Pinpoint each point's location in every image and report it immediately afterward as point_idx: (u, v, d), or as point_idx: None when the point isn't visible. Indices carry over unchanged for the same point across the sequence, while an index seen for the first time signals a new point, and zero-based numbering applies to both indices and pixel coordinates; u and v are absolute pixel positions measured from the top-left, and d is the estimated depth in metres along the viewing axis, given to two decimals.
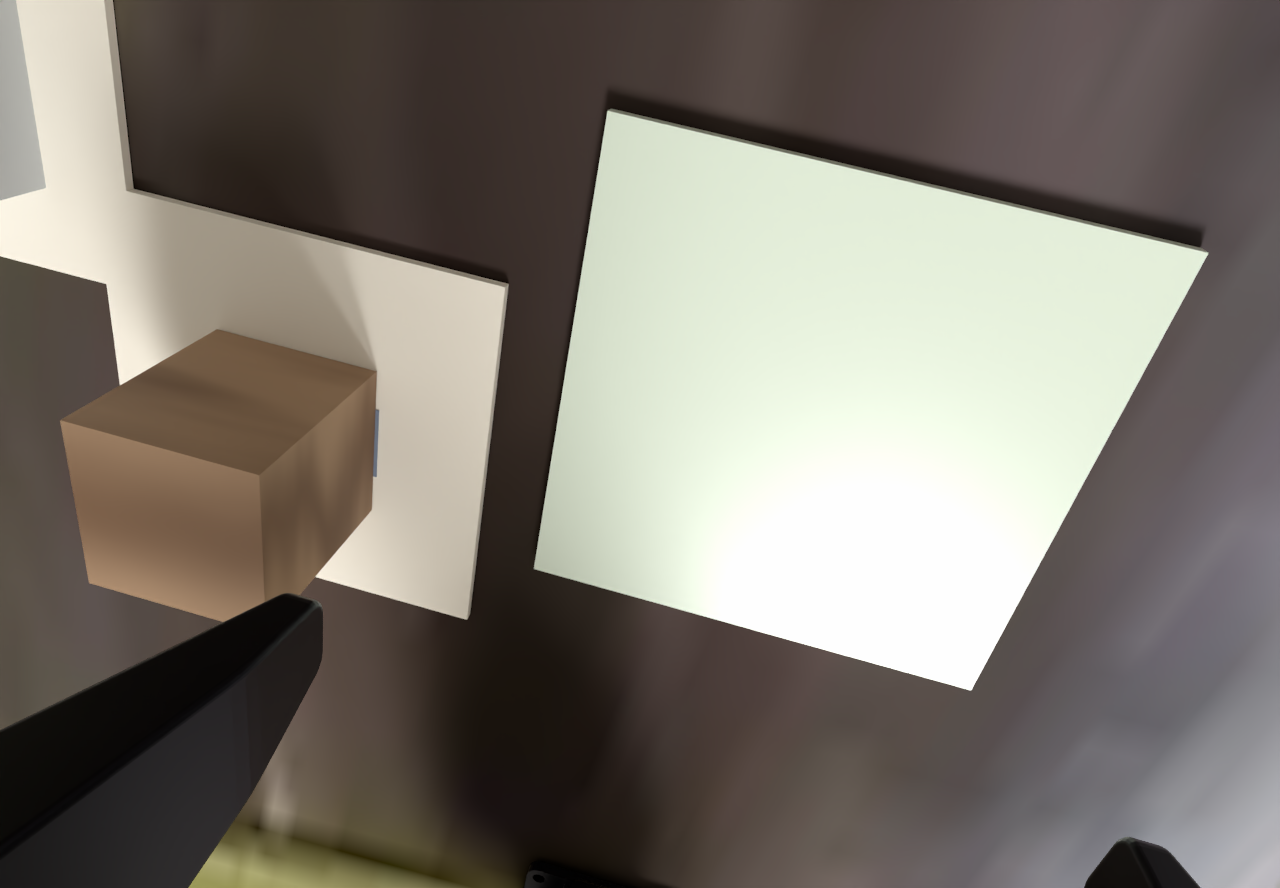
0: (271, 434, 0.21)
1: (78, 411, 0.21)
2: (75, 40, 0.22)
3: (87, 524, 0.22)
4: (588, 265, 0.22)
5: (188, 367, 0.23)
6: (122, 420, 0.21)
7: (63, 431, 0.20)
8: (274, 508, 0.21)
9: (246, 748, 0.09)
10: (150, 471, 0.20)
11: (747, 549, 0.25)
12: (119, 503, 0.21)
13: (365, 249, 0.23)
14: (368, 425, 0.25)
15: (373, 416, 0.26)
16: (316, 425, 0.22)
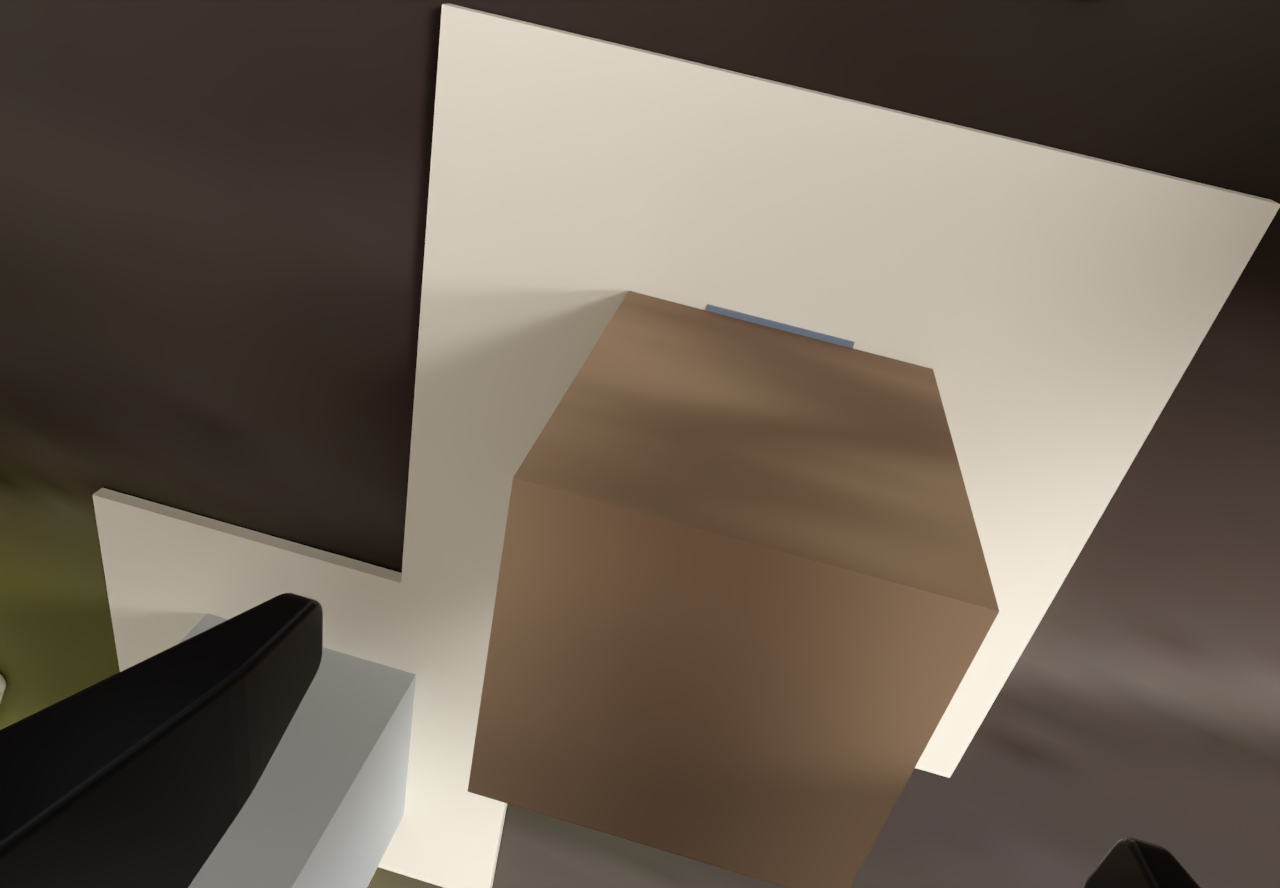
0: None
1: None
2: (239, 570, 0.19)
3: (692, 845, 0.11)
4: None
5: None
6: None
7: (491, 796, 0.11)
8: (651, 482, 0.09)
9: (246, 748, 0.09)
10: (546, 688, 0.10)
11: None
12: (633, 773, 0.10)
13: None
14: (722, 324, 0.13)
15: (715, 315, 0.14)
16: (578, 376, 0.11)
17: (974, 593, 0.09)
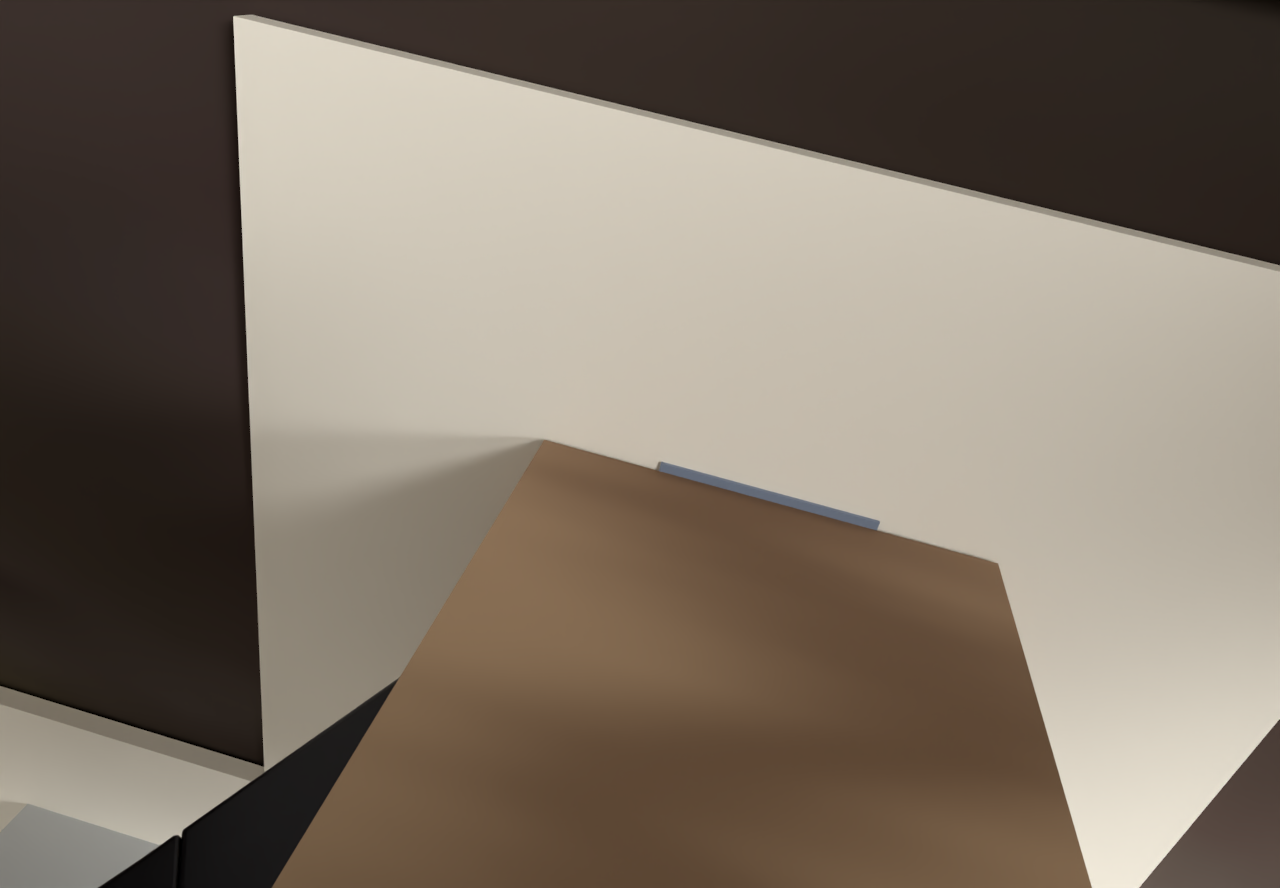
0: None
1: None
2: (59, 758, 0.14)
3: None
4: None
5: None
6: None
7: None
8: None
9: None
10: None
11: None
12: None
13: None
14: (680, 499, 0.09)
15: (671, 480, 0.09)
16: (418, 655, 0.06)
17: None
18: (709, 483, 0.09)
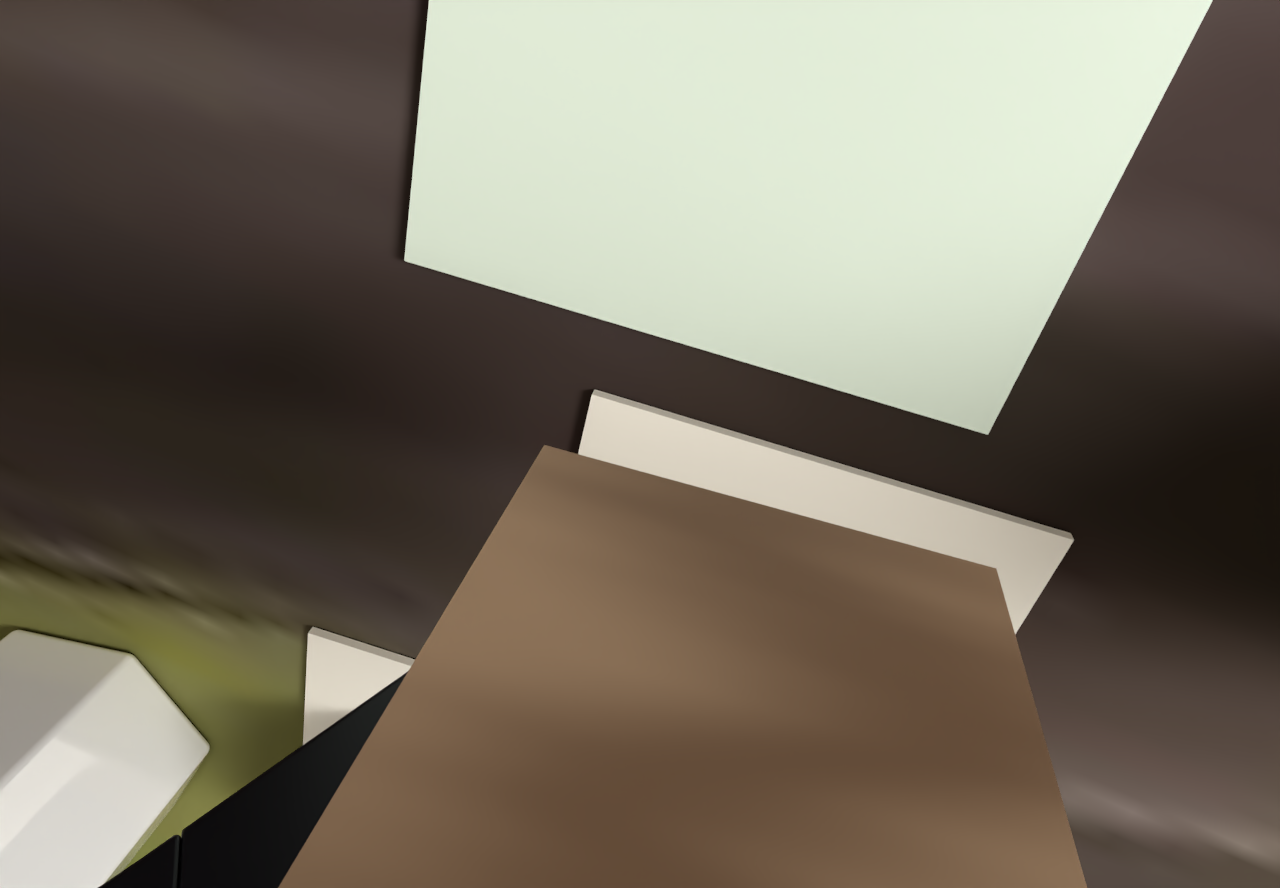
0: None
1: None
2: None
3: None
4: (559, 300, 0.20)
5: None
6: None
7: None
8: None
9: None
10: None
11: (981, 116, 0.16)
12: None
13: None
14: (680, 505, 0.09)
15: (671, 485, 0.09)
16: (419, 660, 0.06)
17: None
18: None
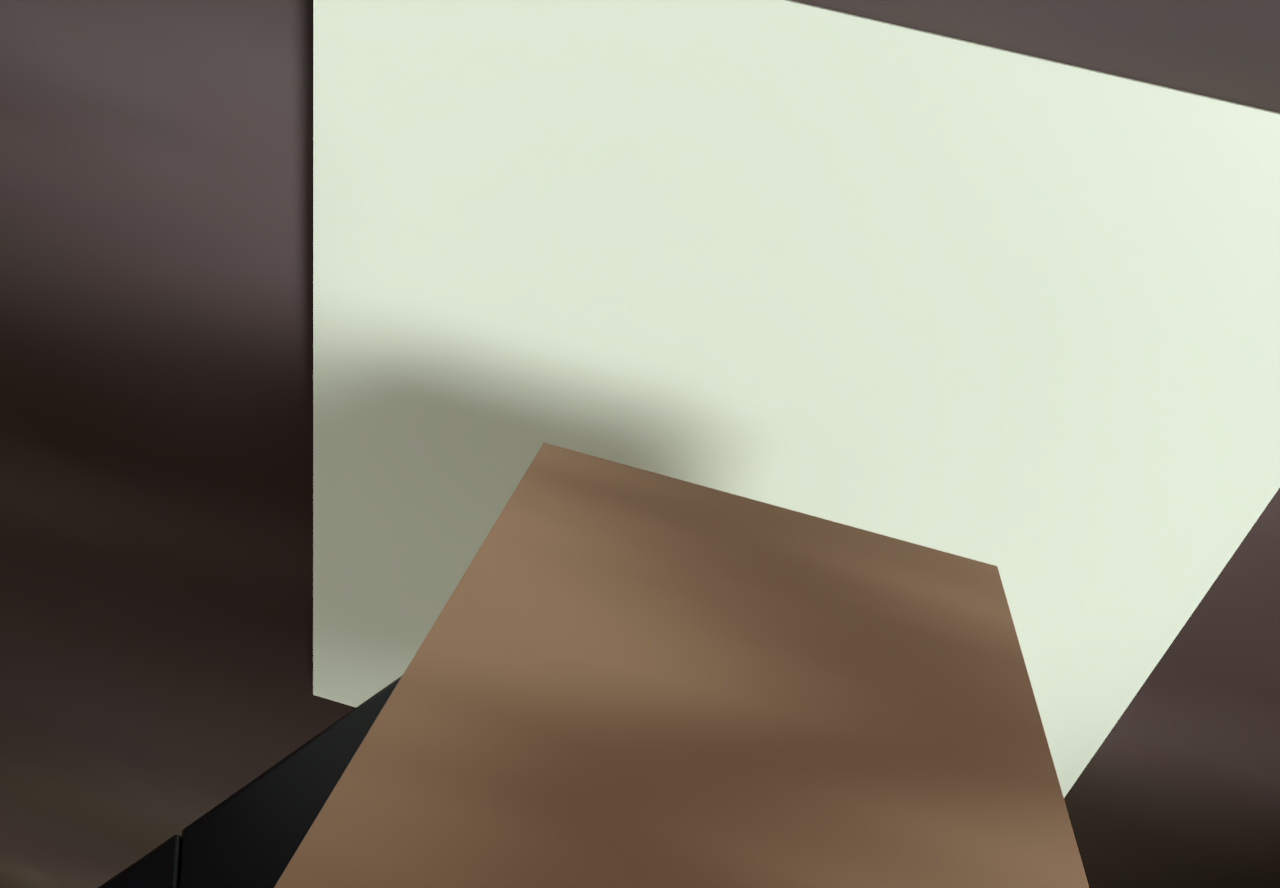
0: None
1: None
2: None
3: None
4: None
5: None
6: None
7: None
8: None
9: None
10: None
11: None
12: None
13: None
14: (679, 502, 0.09)
15: (670, 483, 0.09)
16: (418, 659, 0.06)
17: None
18: None
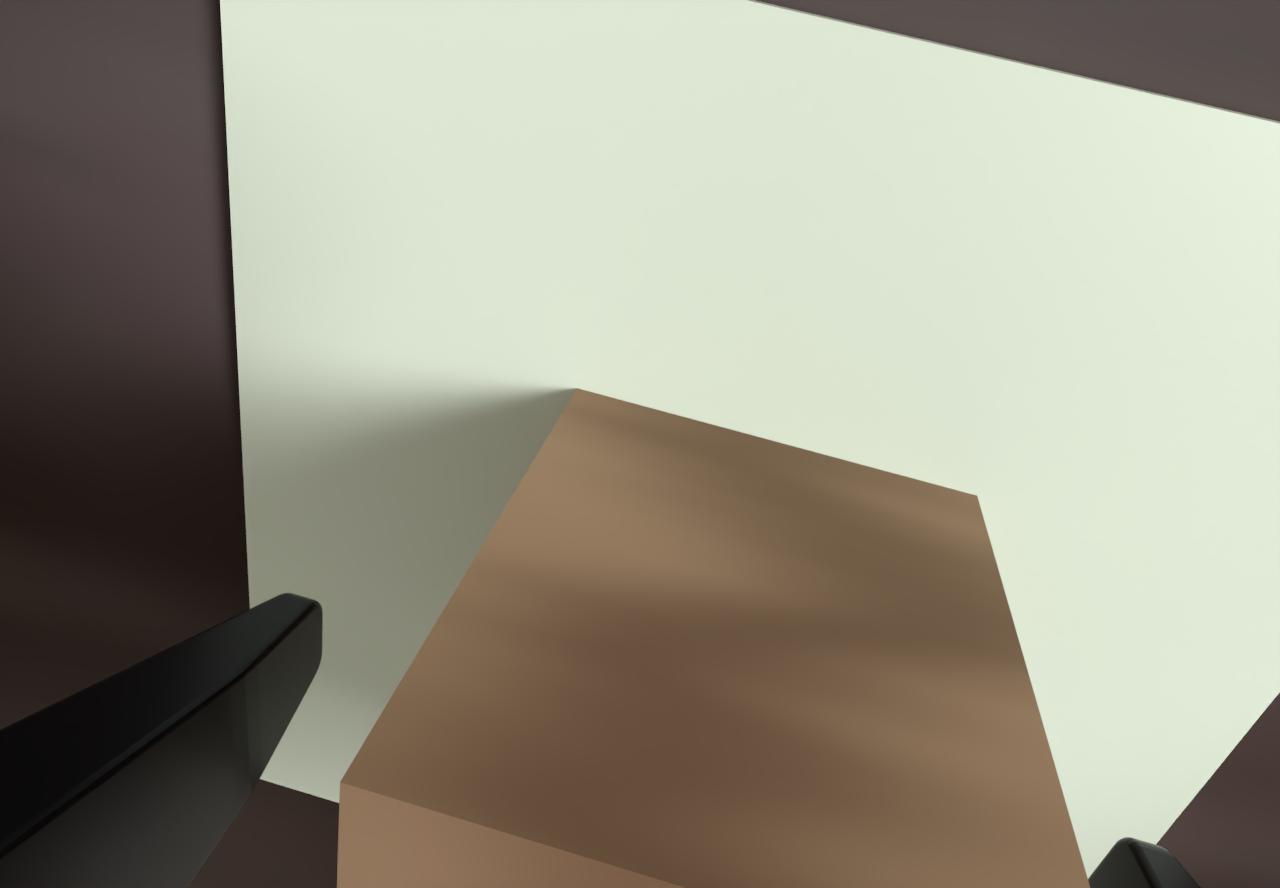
0: None
1: None
2: None
3: None
4: None
5: None
6: None
7: None
8: (568, 767, 0.06)
9: (246, 748, 0.09)
10: None
11: None
12: None
13: None
14: (698, 438, 0.10)
15: (690, 423, 0.10)
16: (485, 548, 0.08)
17: None
18: None
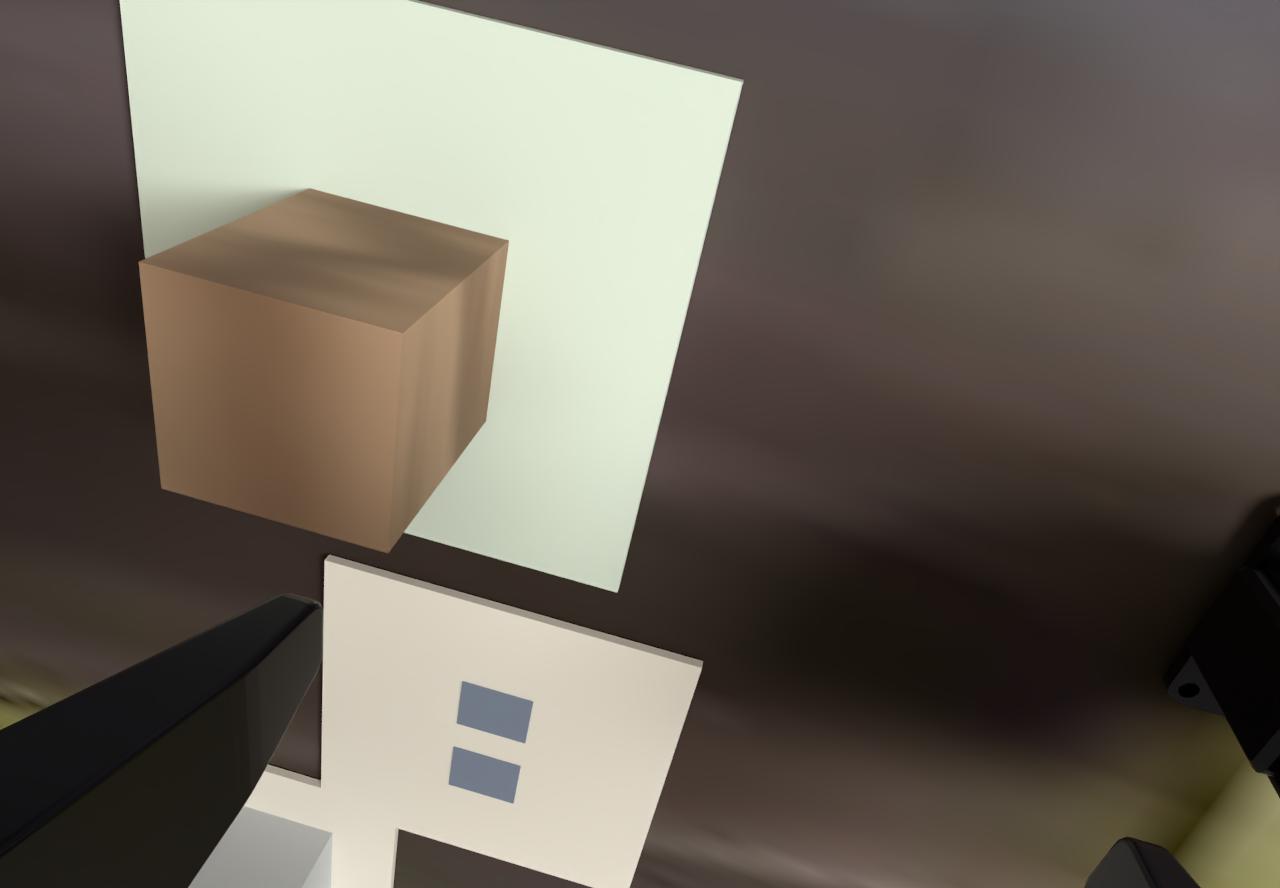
0: None
1: None
2: None
3: (296, 517, 0.18)
4: None
5: None
6: None
7: (176, 491, 0.18)
8: (228, 270, 0.16)
9: (246, 748, 0.09)
10: (188, 406, 0.17)
11: (552, 376, 0.22)
12: (249, 464, 0.17)
13: None
14: (364, 209, 0.20)
15: (365, 204, 0.20)
16: (226, 225, 0.18)
17: (395, 326, 0.15)
18: (478, 688, 0.28)
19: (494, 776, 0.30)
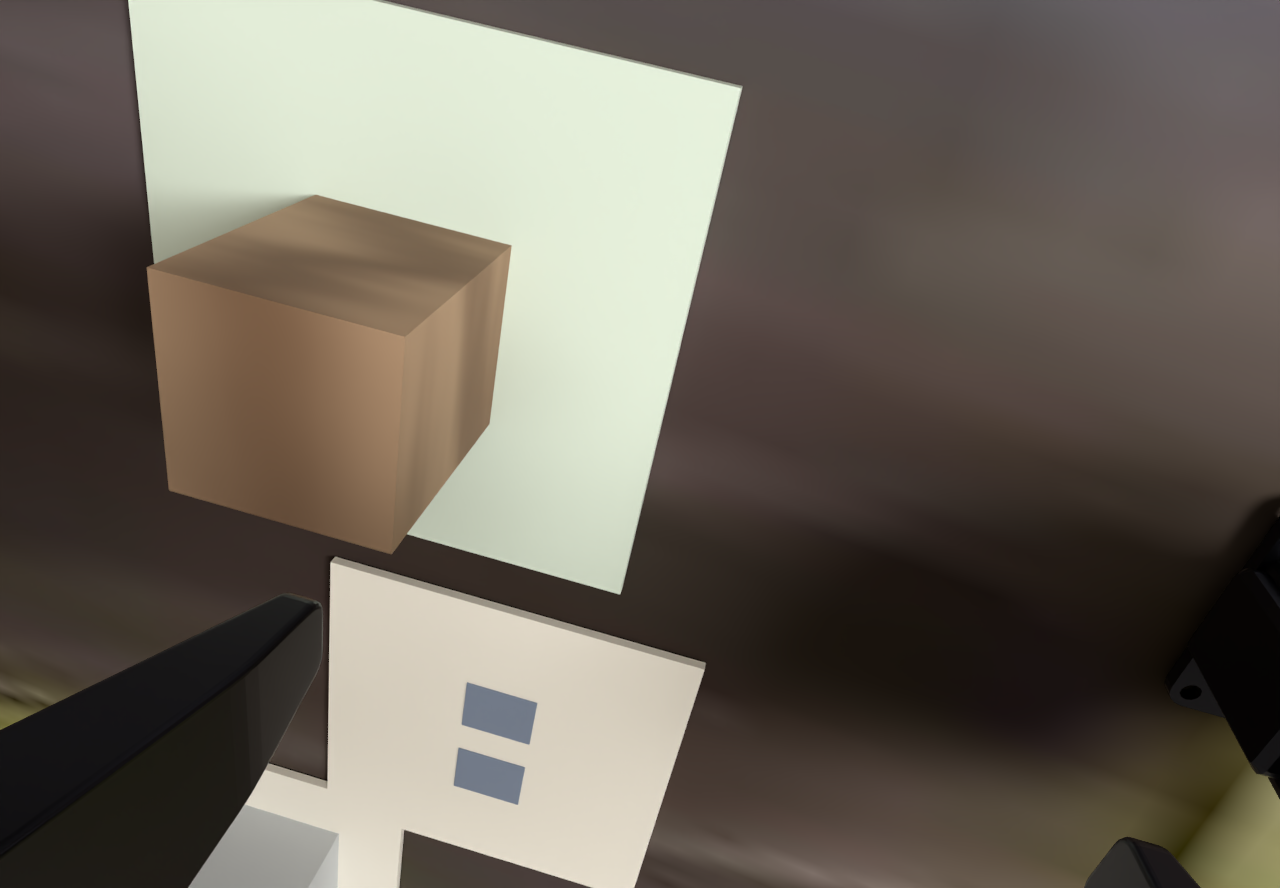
0: None
1: None
2: None
3: (301, 518, 0.18)
4: None
5: None
6: None
7: (183, 493, 0.18)
8: (234, 275, 0.16)
9: (246, 748, 0.09)
10: (195, 409, 0.17)
11: (555, 380, 0.22)
12: (255, 466, 0.17)
13: None
14: (369, 215, 0.20)
15: (370, 210, 0.21)
16: (232, 231, 0.18)
17: (398, 330, 0.16)
18: (482, 690, 0.28)
19: (499, 777, 0.30)
